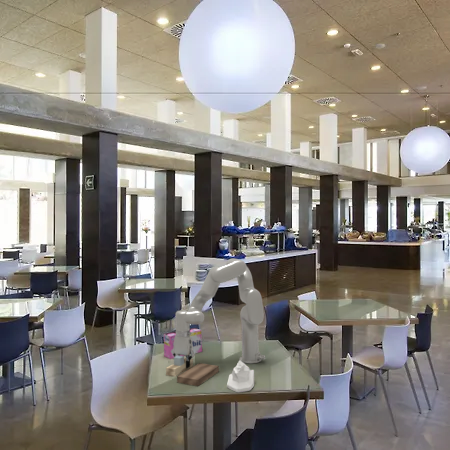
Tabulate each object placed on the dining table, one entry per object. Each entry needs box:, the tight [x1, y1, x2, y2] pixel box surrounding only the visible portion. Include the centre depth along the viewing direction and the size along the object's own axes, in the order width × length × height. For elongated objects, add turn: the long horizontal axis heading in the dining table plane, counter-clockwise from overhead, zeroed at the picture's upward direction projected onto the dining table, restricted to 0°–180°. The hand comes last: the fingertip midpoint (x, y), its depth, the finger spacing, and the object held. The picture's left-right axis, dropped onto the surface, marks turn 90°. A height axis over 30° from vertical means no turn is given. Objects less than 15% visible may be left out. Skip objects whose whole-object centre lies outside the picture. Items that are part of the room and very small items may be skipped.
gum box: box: [163, 327, 203, 360], centre depth 254 cm, size 24×8×14 cm, turn 126°
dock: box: [176, 362, 220, 387], centre depth 215 cm, size 12×22×3 cm, turn 153°
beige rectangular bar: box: [165, 357, 194, 378], centre depth 225 cm, size 6×18×4 cm, turn 153°
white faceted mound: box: [226, 359, 255, 393], centre depth 199 cm, size 12×15×14 cm
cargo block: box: [173, 355, 185, 366], centre depth 223 cm, size 4×4×4 cm
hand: (183, 366), depth 228 cm, fingers closed on beige rectangular bar, 5 cm apart
